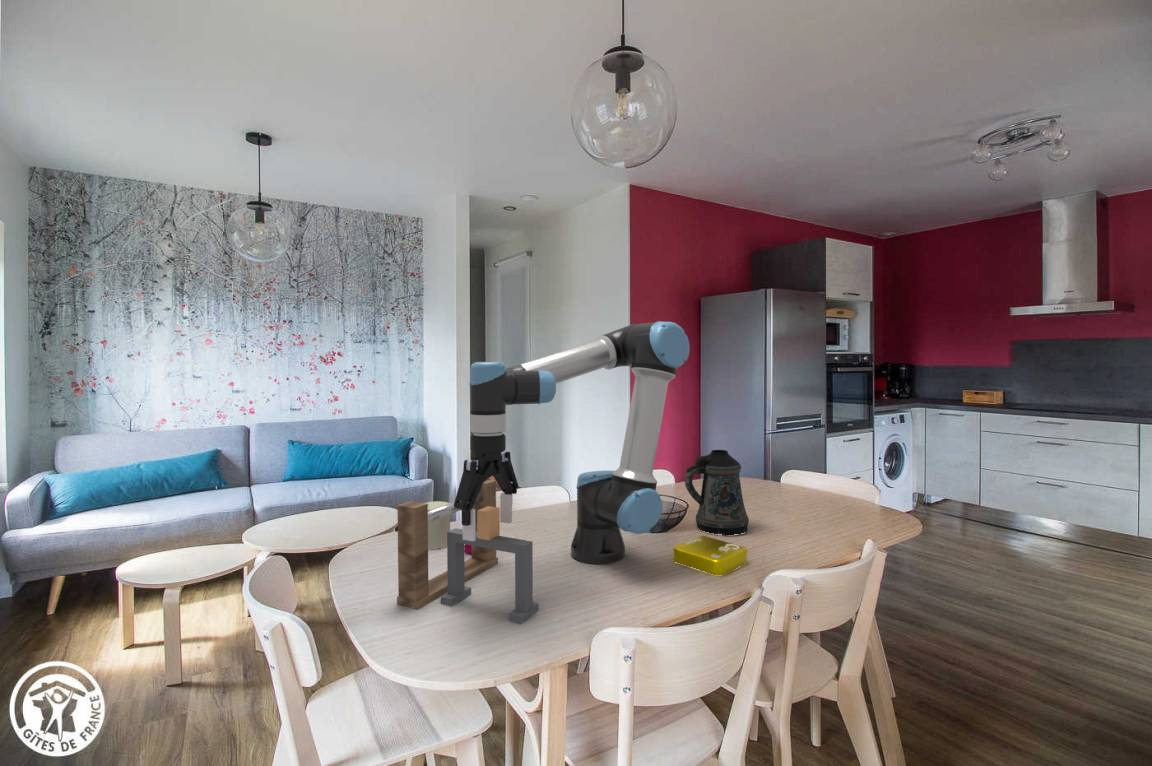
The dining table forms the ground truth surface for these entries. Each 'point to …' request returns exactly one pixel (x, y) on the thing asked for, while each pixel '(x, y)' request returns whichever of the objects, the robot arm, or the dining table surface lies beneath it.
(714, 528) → the beer stein
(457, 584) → the grey arch gate
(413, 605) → the rack
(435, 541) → the can
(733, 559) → the element tile
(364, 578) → the dining table surface
